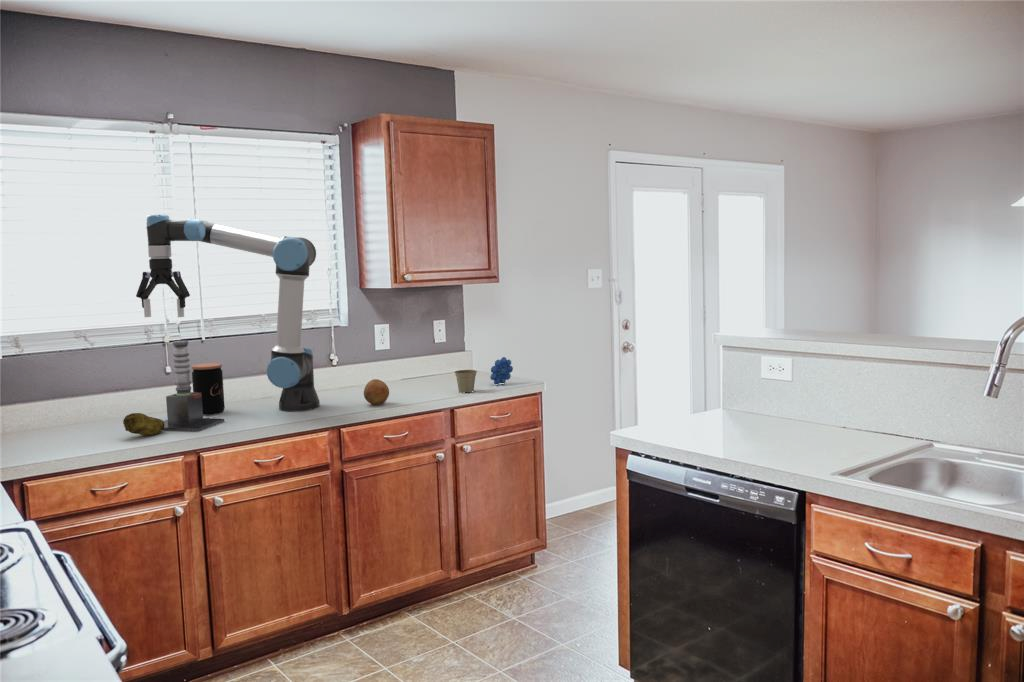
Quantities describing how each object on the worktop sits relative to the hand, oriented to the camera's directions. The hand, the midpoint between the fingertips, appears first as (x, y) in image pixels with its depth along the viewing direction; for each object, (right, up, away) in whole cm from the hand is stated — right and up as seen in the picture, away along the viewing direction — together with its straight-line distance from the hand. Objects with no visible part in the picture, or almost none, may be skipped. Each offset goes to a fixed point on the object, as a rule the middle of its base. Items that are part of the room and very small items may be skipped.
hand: (164, 317), depth 293 cm
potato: (+5, -40, -26) cm, 48 cm away
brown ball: (+74, -34, +20) cm, 83 cm away
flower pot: (+107, -30, +44) cm, 119 cm away
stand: (+12, -38, -12) cm, 42 cm away
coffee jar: (+12, -36, +11) cm, 39 cm away
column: (+12, -31, -12) cm, 35 cm away
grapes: (+121, -28, +61) cm, 138 cm away
